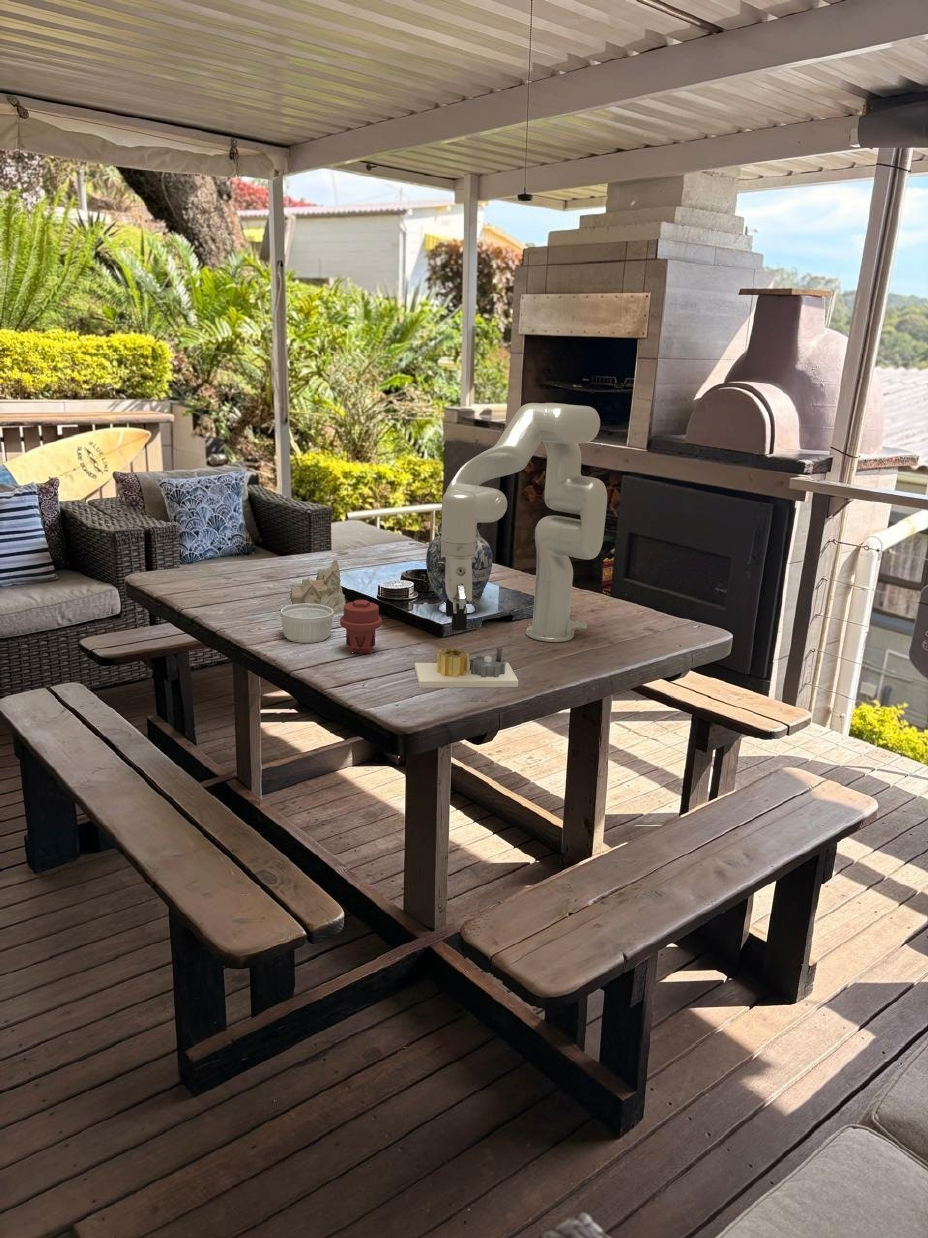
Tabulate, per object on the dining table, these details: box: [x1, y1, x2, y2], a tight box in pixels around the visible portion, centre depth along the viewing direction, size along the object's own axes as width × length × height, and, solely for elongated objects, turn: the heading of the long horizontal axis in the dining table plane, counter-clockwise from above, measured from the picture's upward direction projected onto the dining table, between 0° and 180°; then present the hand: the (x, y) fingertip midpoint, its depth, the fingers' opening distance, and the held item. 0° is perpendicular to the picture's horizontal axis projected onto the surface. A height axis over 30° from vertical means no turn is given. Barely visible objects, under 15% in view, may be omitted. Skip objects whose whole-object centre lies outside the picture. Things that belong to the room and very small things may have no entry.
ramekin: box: [279, 603, 335, 644], centre depth 230 cm, size 13×13×7 cm
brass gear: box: [436, 647, 470, 677], centre depth 206 cm, size 7×7×4 cm
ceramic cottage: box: [289, 558, 347, 615], centre depth 254 cm, size 16×16×15 cm
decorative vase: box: [425, 520, 493, 605], centre depth 256 cm, size 21×19×28 cm
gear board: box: [414, 647, 519, 689], centre depth 207 cm, size 22×12×7 cm, turn 98°
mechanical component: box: [339, 599, 383, 654], centre depth 221 cm, size 12×10×10 cm
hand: (456, 622), depth 204 cm, fingers open, 9 cm apart
